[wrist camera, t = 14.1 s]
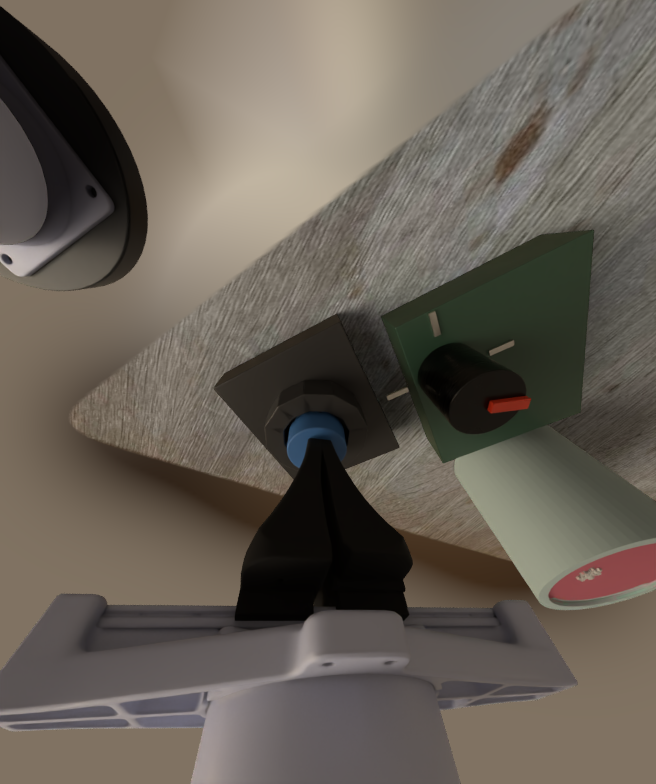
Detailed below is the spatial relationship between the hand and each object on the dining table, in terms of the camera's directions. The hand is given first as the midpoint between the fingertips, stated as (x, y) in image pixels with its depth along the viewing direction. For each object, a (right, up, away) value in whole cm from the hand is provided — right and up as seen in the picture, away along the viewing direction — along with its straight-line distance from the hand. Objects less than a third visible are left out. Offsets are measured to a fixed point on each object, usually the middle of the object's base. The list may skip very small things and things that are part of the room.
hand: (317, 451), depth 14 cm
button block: (0, +3, +5) cm, 5 cm away
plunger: (0, +1, +1) cm, 2 cm away
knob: (+8, +5, 0) cm, 9 cm away
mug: (+19, -4, +10) cm, 22 cm away
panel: (+11, +6, +3) cm, 13 cm away
